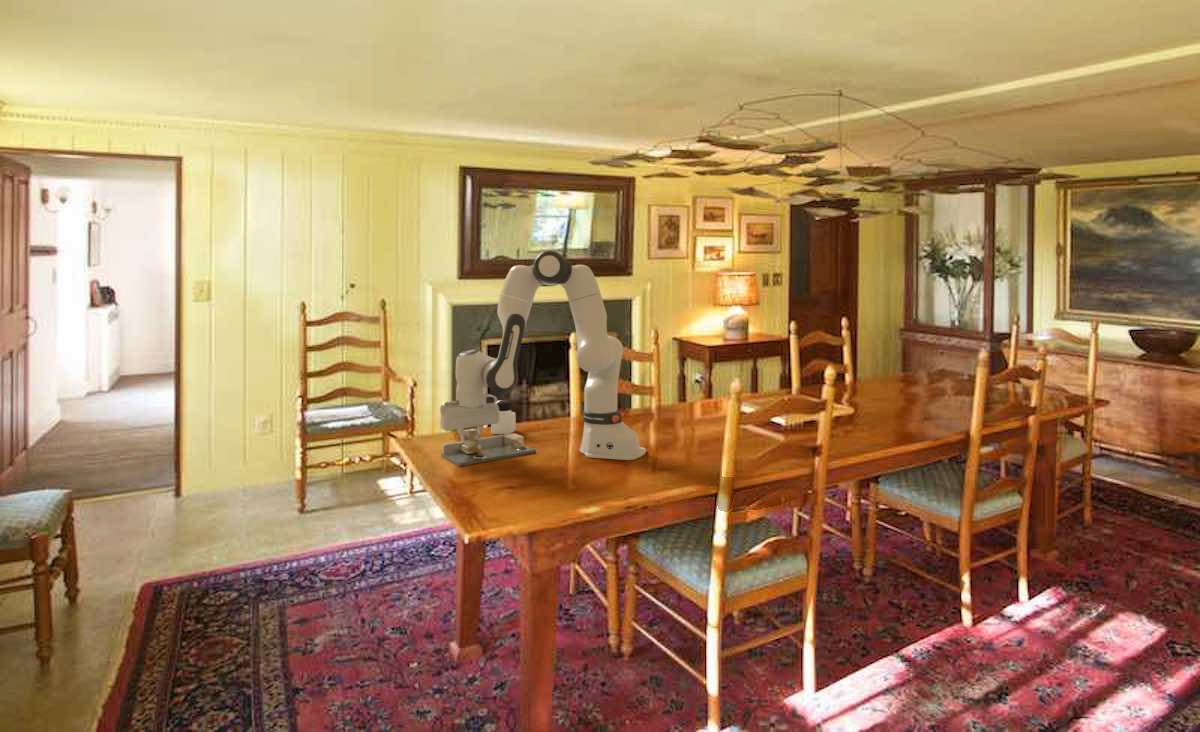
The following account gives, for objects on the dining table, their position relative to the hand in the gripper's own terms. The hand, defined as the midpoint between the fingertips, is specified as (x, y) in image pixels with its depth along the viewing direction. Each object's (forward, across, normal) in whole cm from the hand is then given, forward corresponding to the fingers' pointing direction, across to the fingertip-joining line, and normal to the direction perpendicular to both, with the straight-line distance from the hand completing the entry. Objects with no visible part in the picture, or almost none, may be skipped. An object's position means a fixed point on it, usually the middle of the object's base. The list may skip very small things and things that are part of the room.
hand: (470, 439), depth 249 cm
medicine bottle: (+5, +23, +21) cm, 32 cm away
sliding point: (+4, 0, -2) cm, 5 cm away
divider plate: (+5, +5, -3) cm, 8 cm away
